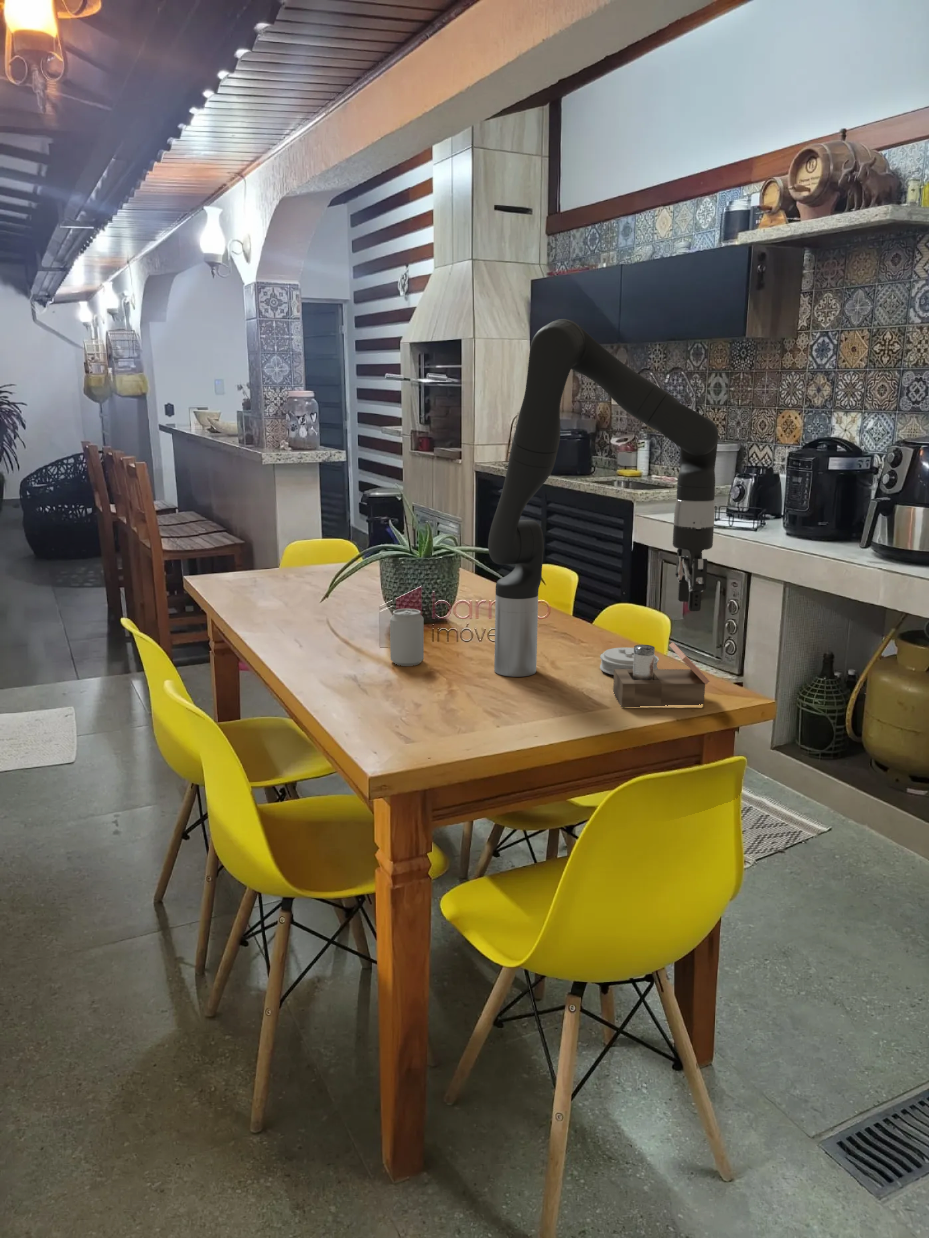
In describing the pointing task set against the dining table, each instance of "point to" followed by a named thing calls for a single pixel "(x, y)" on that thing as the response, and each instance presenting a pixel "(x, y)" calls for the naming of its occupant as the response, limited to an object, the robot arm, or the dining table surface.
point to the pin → (643, 662)
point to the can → (407, 637)
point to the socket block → (659, 688)
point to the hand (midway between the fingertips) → (688, 605)
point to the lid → (619, 659)
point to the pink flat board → (689, 663)
